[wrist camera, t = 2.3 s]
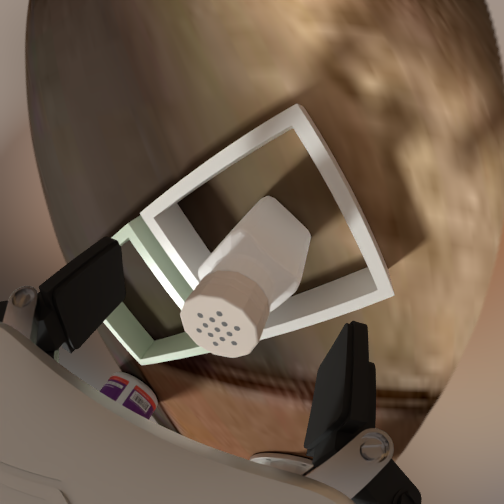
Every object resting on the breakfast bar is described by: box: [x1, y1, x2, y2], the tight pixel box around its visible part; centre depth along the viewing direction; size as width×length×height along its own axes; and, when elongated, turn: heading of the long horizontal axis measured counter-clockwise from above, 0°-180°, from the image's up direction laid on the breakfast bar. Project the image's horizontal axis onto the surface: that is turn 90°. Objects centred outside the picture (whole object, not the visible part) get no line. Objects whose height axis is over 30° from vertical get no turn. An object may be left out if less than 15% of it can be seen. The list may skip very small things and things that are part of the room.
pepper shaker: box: [180, 196, 311, 358], centre depth 14 cm, size 4×4×10 cm
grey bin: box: [140, 104, 394, 340], centre depth 17 cm, size 12×12×3 cm
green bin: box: [103, 215, 210, 366], centre depth 23 cm, size 12×12×3 cm
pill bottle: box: [100, 372, 158, 420], centre depth 29 cm, size 8×8×14 cm
